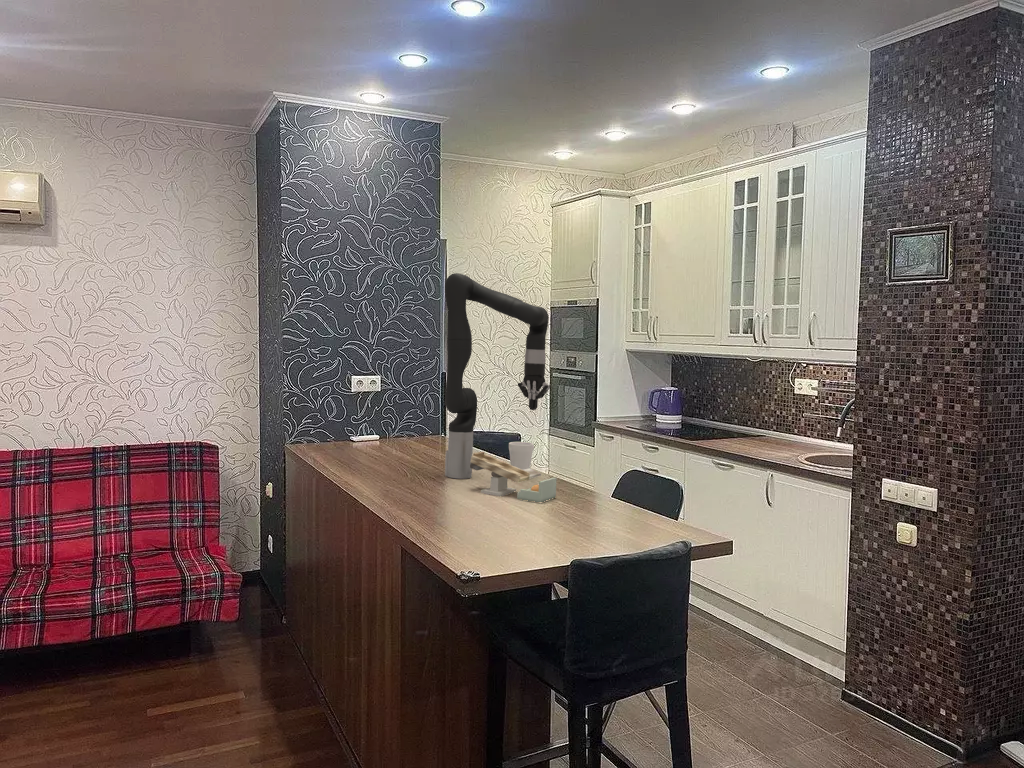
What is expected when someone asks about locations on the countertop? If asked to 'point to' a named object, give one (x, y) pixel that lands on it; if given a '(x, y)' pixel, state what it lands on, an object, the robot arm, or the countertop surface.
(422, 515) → the countertop surface
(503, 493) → the lever stand
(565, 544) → the countertop surface
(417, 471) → the countertop surface
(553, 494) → the bin
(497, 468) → the board
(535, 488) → the ball
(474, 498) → the countertop surface
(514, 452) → the foam cup
